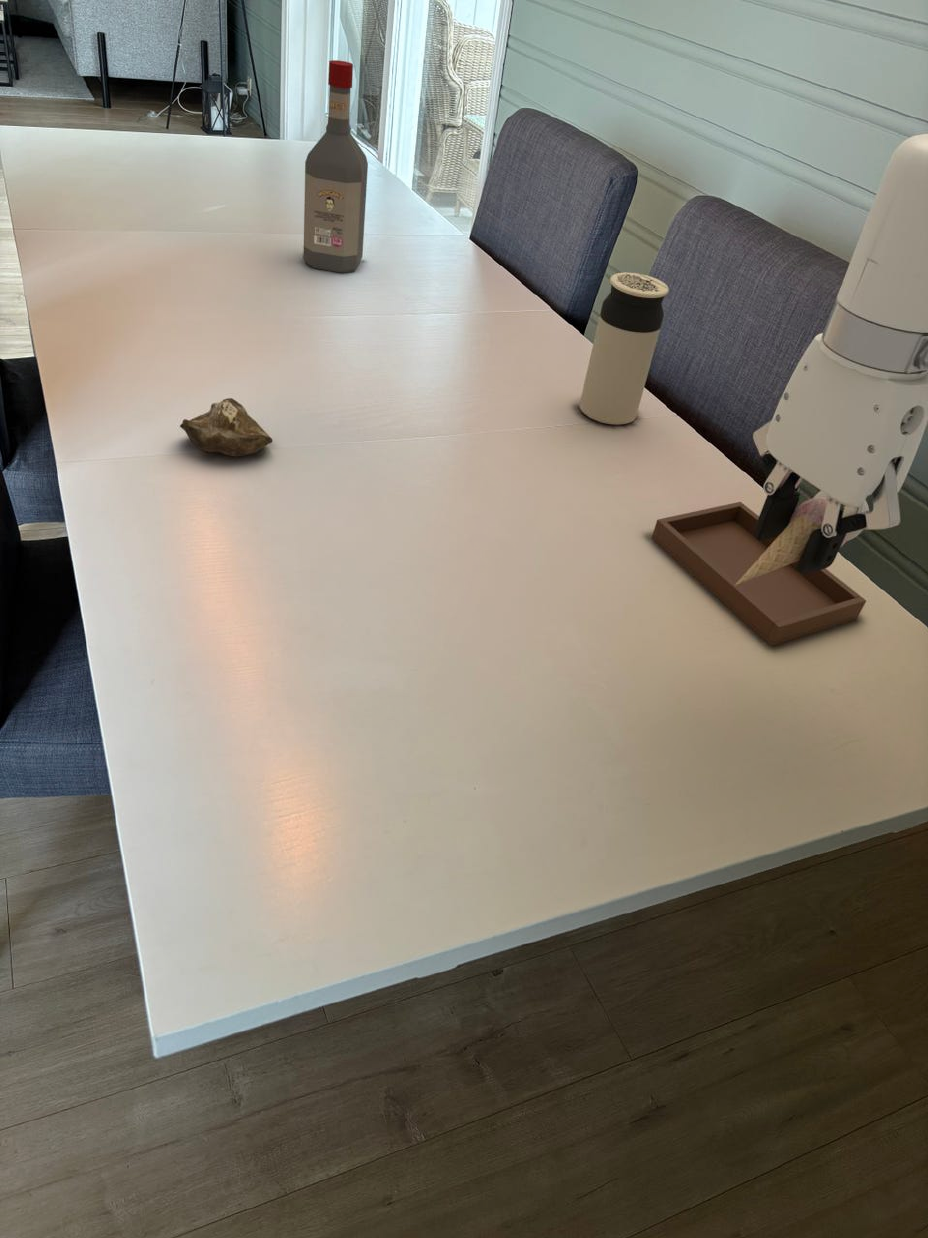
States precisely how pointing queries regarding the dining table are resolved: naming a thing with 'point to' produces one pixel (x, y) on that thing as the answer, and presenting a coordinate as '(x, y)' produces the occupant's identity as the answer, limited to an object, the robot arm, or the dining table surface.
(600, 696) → the dining table surface
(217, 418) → the fossilized seashell
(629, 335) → the travel mug
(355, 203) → the liquor
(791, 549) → the ice cream cone
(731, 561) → the tray
